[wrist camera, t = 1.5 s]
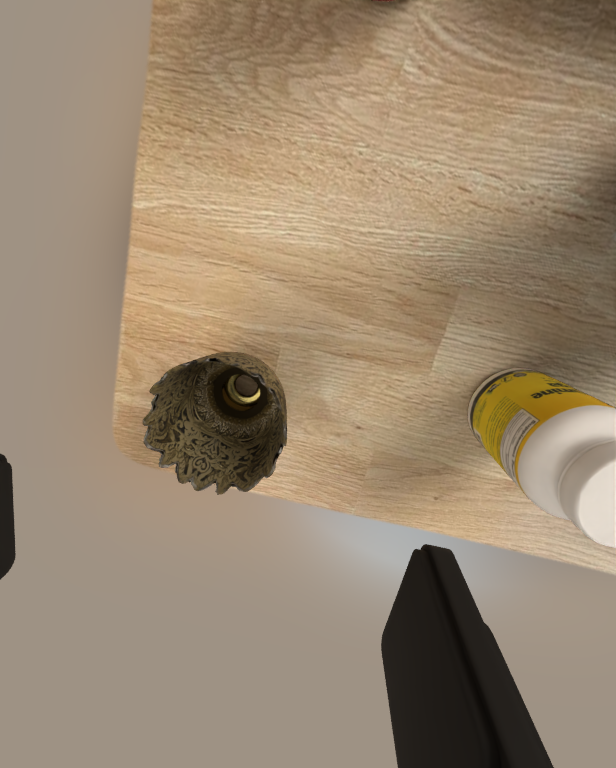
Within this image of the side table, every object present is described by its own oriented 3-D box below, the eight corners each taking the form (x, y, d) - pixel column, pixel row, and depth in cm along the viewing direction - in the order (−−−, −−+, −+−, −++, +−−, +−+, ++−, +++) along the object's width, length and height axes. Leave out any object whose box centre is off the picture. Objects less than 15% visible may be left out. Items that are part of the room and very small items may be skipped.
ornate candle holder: (216, 314, 25) (167, 334, 17) (315, 360, 25) (310, 399, 18) (181, 407, 27) (123, 462, 19) (273, 448, 27) (252, 516, 20)
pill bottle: (573, 380, 25) (754, 462, 14) (530, 457, 27) (662, 580, 16) (487, 353, 25) (608, 416, 14) (450, 433, 26) (531, 542, 16)
